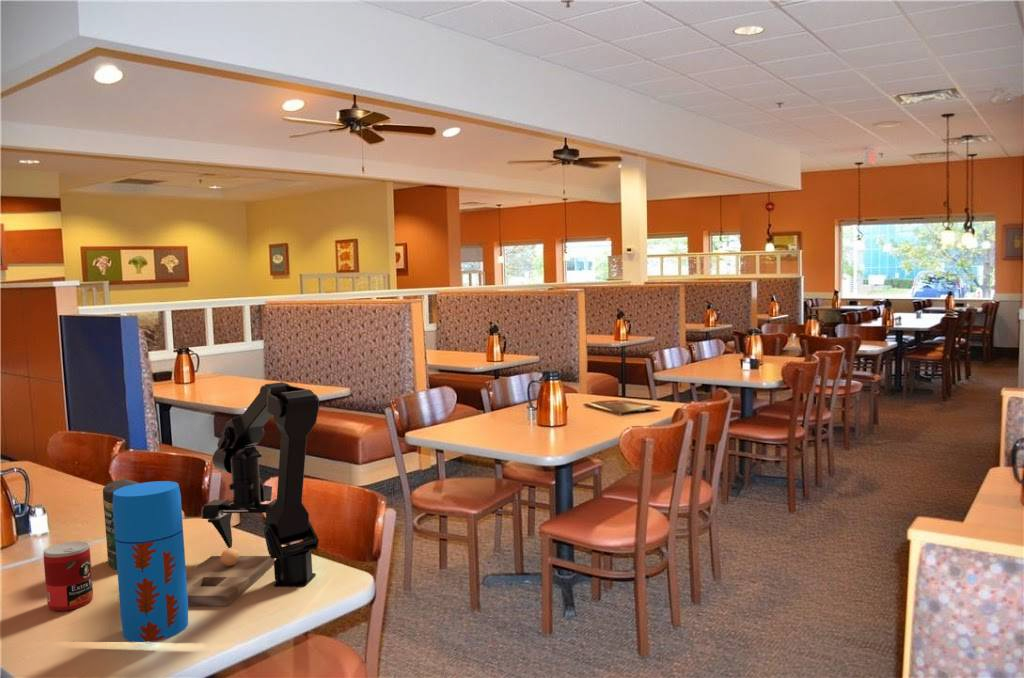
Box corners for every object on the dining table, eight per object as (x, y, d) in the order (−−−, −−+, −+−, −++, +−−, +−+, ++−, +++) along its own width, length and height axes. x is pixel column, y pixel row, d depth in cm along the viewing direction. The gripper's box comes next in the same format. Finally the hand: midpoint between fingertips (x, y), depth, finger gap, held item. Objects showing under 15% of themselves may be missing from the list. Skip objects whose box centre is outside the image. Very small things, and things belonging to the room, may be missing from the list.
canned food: (74, 612, 150) (69, 554, 149) (37, 610, 152) (32, 553, 151) (102, 596, 158) (98, 541, 157) (67, 595, 159) (63, 540, 159)
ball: (242, 562, 168) (241, 546, 168) (234, 568, 165) (233, 551, 165) (226, 562, 169) (225, 546, 168) (218, 568, 165) (217, 551, 165)
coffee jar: (103, 564, 177) (97, 481, 176) (141, 555, 182) (136, 474, 181) (116, 575, 169) (109, 488, 168) (155, 565, 175) (149, 481, 173)
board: (274, 565, 172) (274, 555, 172) (227, 606, 150) (227, 595, 150) (212, 565, 174) (211, 555, 173) (156, 605, 152) (156, 595, 152)
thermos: (136, 618, 146) (126, 482, 144) (197, 614, 147) (188, 479, 145) (111, 645, 135) (101, 498, 134) (177, 640, 136) (167, 494, 134)
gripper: (300, 467, 182) (305, 535, 183) (222, 469, 184) (226, 536, 185) (281, 479, 171) (285, 552, 172) (197, 481, 173) (202, 552, 174)
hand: (250, 547), depth 176 cm, fingers open, 9 cm apart
